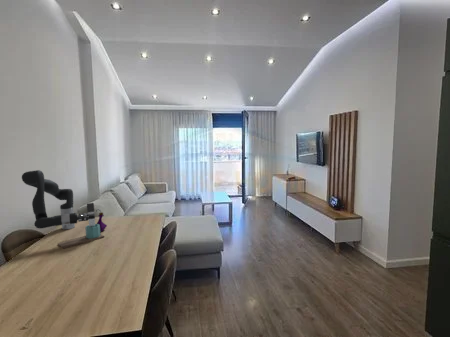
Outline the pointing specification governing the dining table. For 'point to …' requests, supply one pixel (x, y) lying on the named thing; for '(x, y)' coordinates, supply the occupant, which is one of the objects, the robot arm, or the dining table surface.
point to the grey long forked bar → (91, 214)
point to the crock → (92, 231)
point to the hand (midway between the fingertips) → (94, 215)
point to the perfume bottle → (102, 225)
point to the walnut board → (77, 241)
